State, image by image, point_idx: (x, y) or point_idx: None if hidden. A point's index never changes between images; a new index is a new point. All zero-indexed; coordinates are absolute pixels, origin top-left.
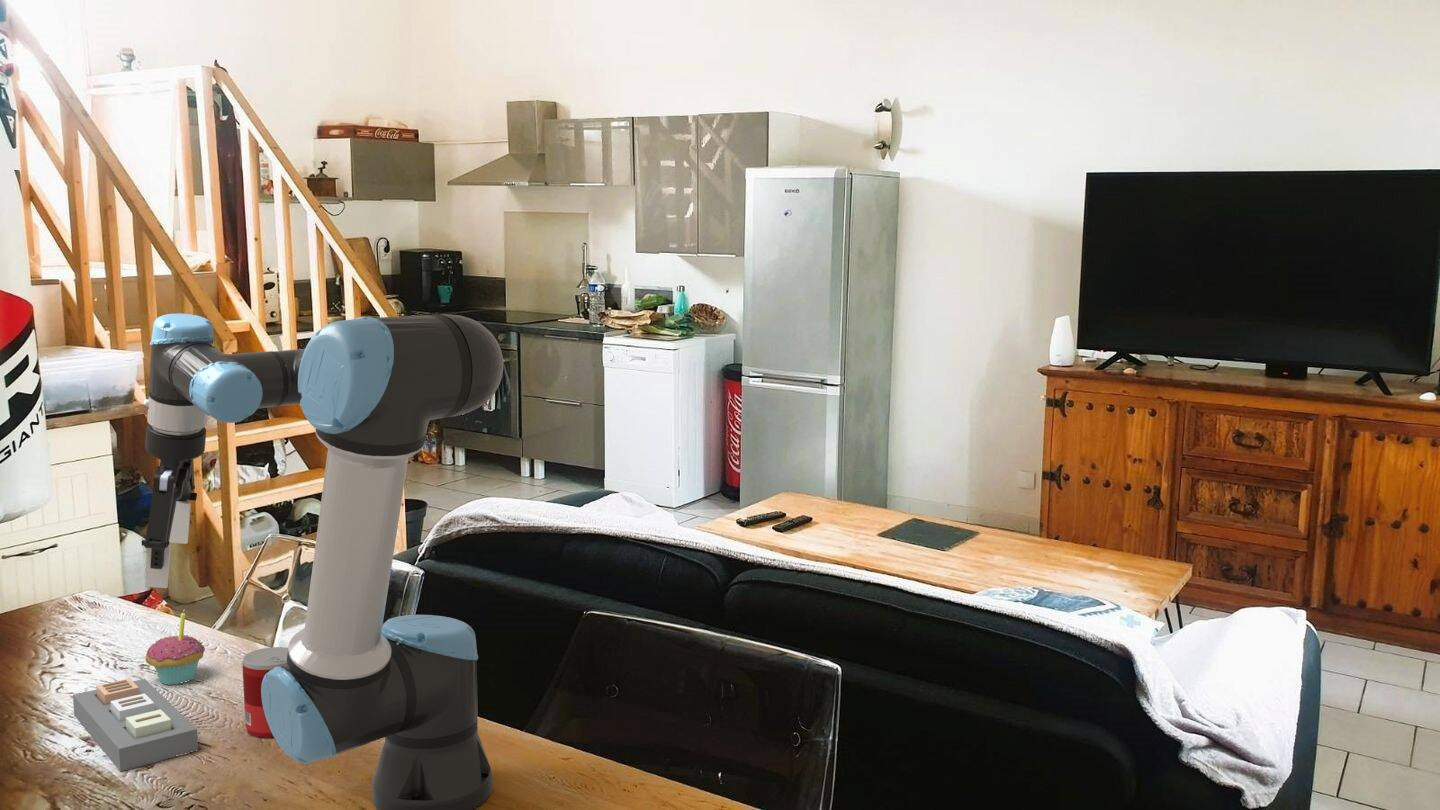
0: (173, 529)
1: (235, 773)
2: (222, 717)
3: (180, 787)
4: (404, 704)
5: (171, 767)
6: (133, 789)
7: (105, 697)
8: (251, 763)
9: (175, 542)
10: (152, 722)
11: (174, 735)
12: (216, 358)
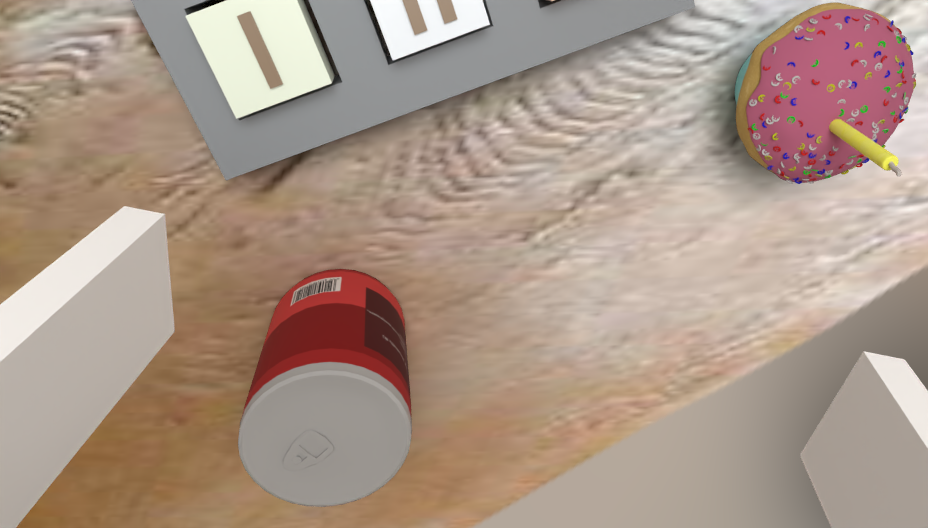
0: (899, 471)
1: None
2: (447, 209)
3: (11, 131)
4: None
5: (144, 102)
6: (12, 12)
7: None
8: None
9: (836, 399)
10: (223, 65)
11: (196, 122)
12: None
